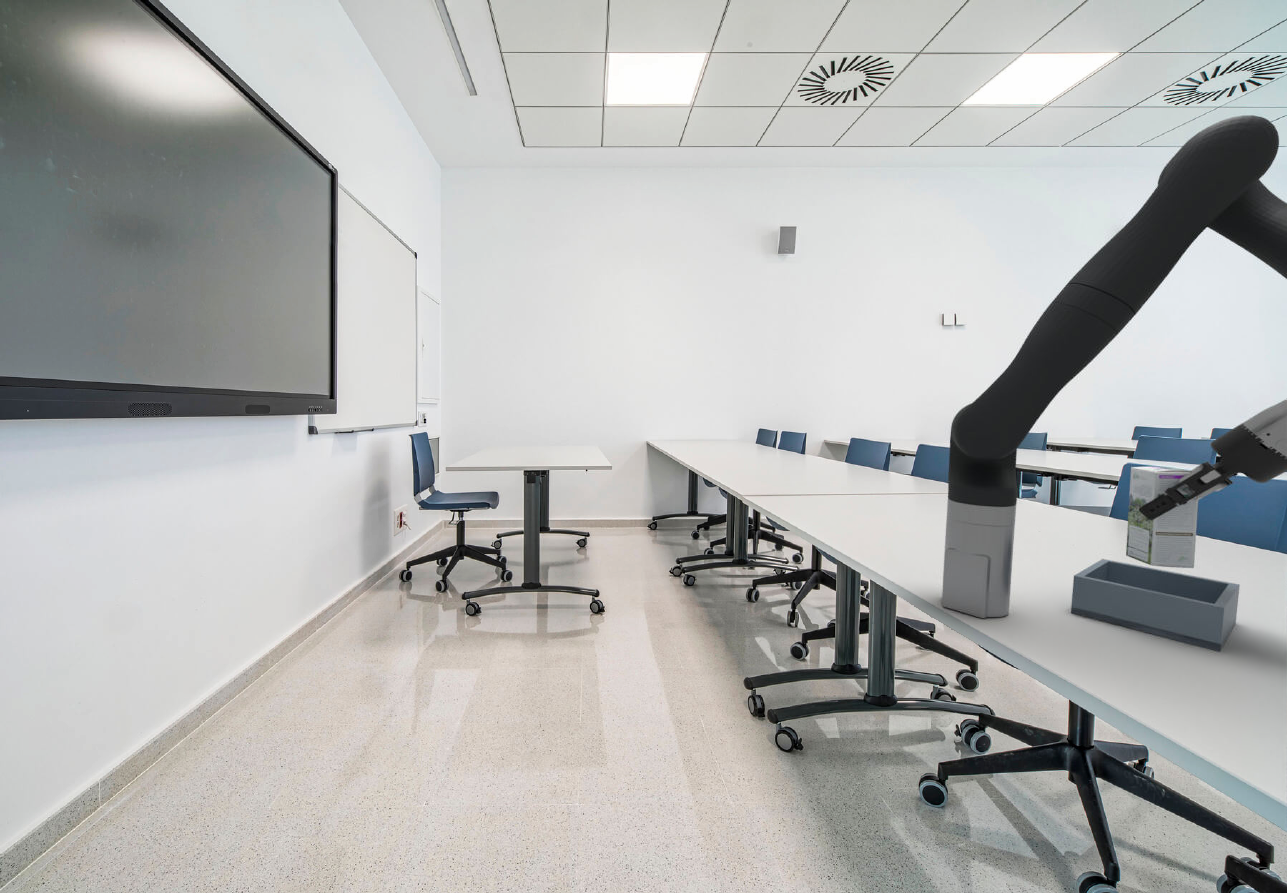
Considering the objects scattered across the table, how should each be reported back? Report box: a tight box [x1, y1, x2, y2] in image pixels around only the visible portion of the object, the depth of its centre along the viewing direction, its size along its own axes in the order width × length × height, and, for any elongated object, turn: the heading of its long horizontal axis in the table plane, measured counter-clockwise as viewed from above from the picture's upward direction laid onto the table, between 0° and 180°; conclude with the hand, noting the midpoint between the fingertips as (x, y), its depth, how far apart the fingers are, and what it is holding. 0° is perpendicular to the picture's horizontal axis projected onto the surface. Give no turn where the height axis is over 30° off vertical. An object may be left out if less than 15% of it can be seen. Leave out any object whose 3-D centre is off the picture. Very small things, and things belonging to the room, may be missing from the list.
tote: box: [1070, 558, 1241, 652], centre depth 81 cm, size 16×16×6 cm
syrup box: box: [1125, 466, 1199, 569], centre depth 80 cm, size 6×6×14 cm
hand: (1150, 511), depth 81 cm, fingers closed on syrup box, 8 cm apart
